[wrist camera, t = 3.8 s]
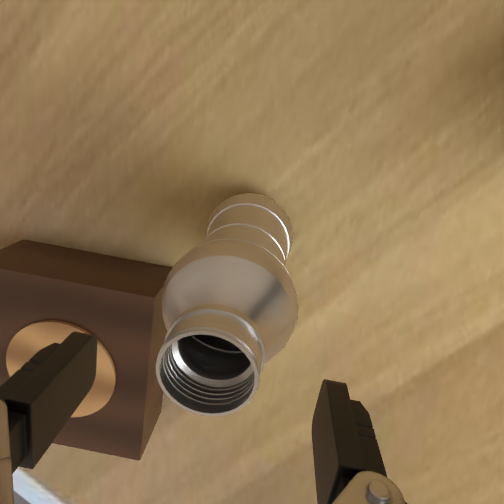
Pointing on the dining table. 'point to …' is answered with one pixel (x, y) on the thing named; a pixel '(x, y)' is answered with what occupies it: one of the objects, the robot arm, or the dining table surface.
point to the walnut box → (90, 322)
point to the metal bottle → (228, 307)
